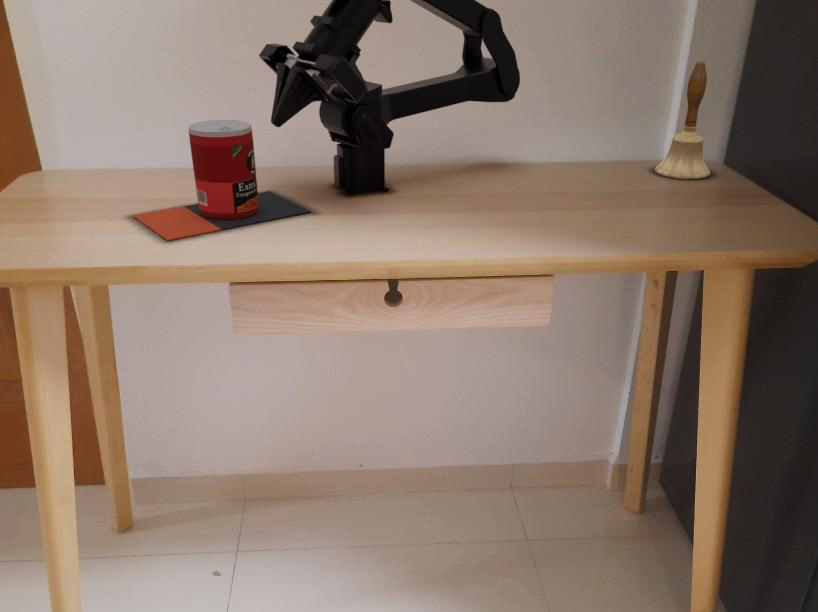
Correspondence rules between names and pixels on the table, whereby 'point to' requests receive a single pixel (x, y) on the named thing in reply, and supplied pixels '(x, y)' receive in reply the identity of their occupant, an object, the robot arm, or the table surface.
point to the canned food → (224, 168)
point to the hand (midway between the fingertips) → (274, 125)
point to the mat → (258, 211)
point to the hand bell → (688, 136)
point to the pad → (176, 223)
